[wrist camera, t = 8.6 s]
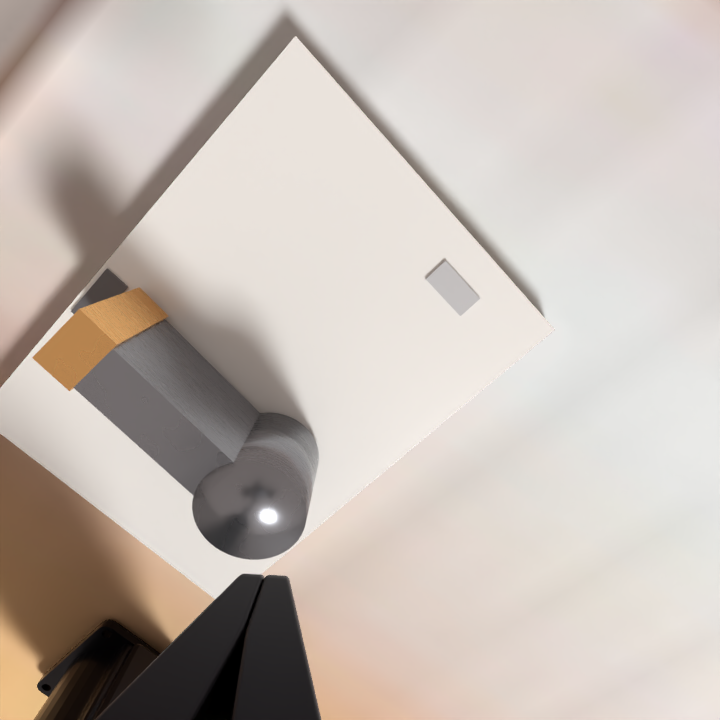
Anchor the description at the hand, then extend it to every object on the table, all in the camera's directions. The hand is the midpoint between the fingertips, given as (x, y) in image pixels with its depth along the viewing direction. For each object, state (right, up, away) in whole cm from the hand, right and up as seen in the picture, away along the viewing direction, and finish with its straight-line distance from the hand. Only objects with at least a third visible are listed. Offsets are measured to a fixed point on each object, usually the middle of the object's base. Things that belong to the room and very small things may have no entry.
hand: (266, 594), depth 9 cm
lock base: (-3, +4, +12) cm, 13 cm away
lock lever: (-4, +2, +11) cm, 12 cm away
